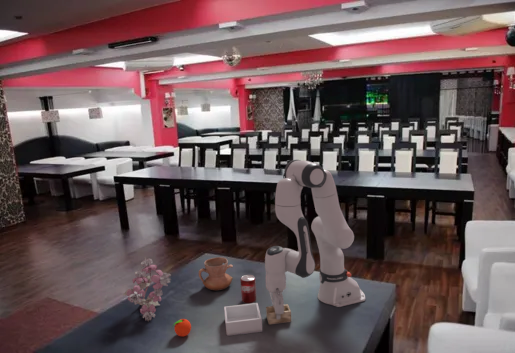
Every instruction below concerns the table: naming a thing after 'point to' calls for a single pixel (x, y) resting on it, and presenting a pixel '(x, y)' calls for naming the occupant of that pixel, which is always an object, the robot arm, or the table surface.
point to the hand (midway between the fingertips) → (276, 312)
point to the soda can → (248, 289)
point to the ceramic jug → (216, 273)
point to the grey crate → (243, 319)
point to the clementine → (182, 327)
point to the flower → (138, 290)
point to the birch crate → (272, 315)
